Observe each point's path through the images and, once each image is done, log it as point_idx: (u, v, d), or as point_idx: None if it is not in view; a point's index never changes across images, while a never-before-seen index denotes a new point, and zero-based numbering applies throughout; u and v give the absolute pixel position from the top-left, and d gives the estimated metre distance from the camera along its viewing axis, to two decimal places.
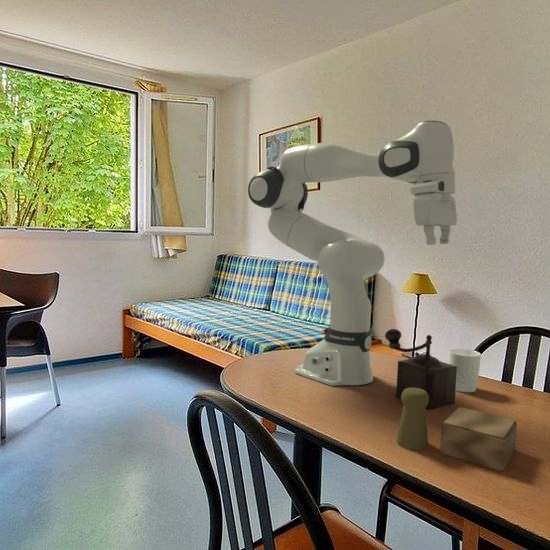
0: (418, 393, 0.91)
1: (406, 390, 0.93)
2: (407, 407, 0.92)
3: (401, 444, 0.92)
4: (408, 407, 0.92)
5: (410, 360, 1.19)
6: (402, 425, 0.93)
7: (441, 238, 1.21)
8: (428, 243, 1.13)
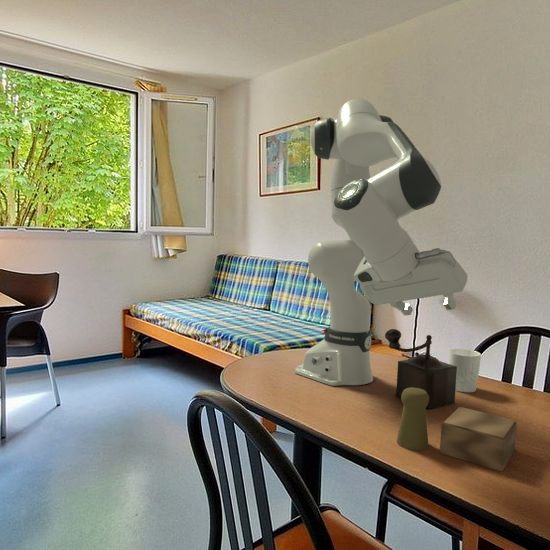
0: (418, 393, 0.91)
1: (406, 390, 0.93)
2: (407, 407, 0.92)
3: (401, 444, 0.92)
4: (408, 407, 0.92)
5: (410, 360, 1.19)
6: (402, 425, 0.93)
7: None
8: None
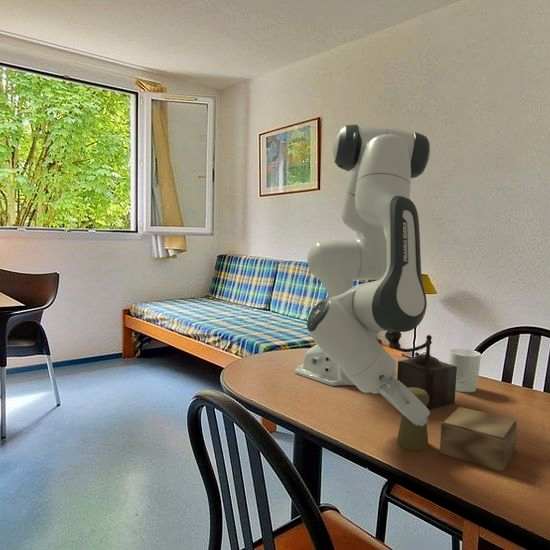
0: (418, 393, 0.91)
1: None
2: None
3: (401, 444, 0.92)
4: None
5: (410, 360, 1.19)
6: (402, 424, 0.93)
7: None
8: None
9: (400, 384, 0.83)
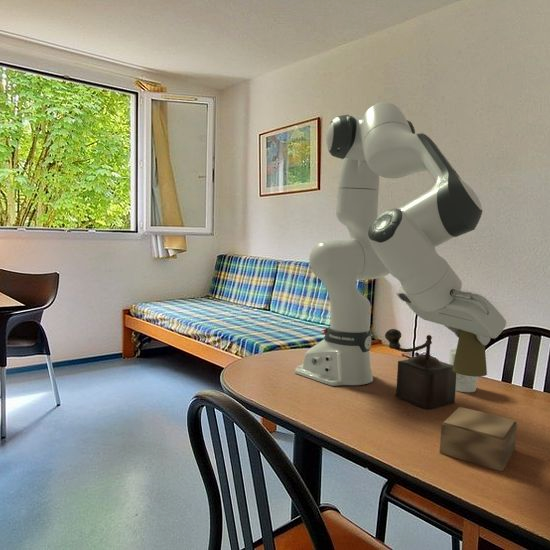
0: None
1: None
2: (466, 332, 0.87)
3: (461, 372, 0.88)
4: (468, 332, 0.87)
5: (410, 360, 1.19)
6: (460, 352, 0.88)
7: None
8: None
9: (477, 295, 0.78)
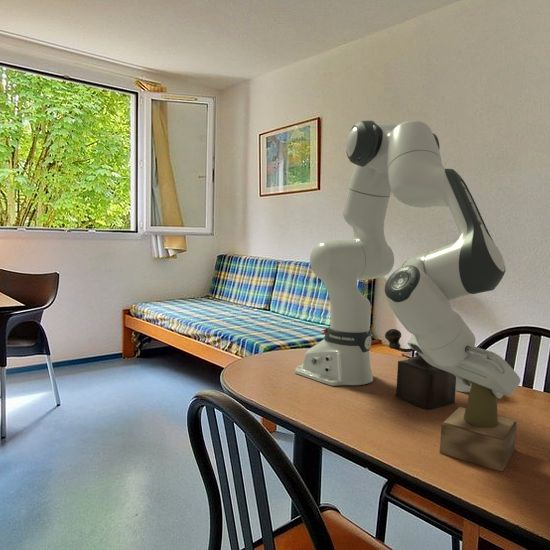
0: None
1: None
2: None
3: (473, 422, 0.89)
4: None
5: (410, 360, 1.19)
6: (473, 402, 0.89)
7: None
8: None
9: (492, 353, 0.79)
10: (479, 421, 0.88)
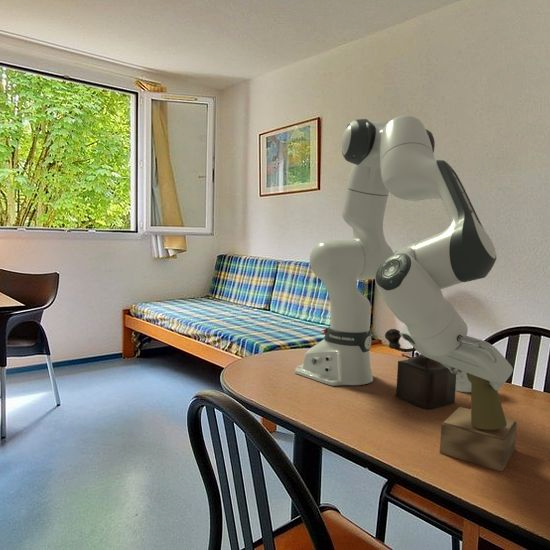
0: None
1: None
2: (478, 384, 0.86)
3: (480, 426, 0.86)
4: (479, 385, 0.86)
5: (410, 360, 1.19)
6: (476, 405, 0.87)
7: None
8: None
9: (484, 342, 0.78)
10: (486, 424, 0.85)
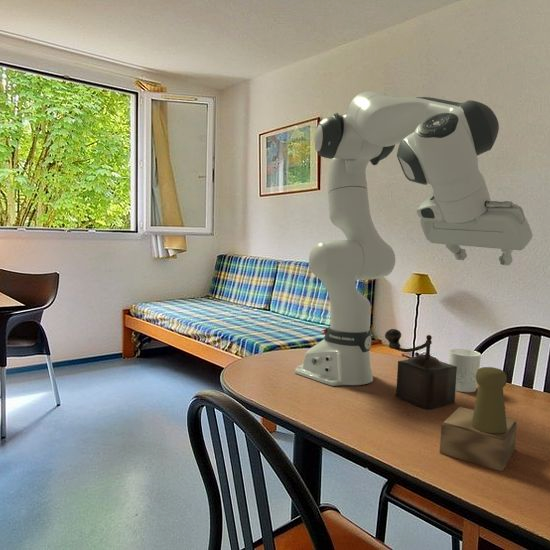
0: (498, 372, 0.85)
1: (483, 370, 0.86)
2: (486, 388, 0.86)
3: (482, 429, 0.86)
4: (488, 388, 0.85)
5: (410, 360, 1.19)
6: (480, 408, 0.86)
7: None
8: None
9: None
10: (488, 427, 0.85)
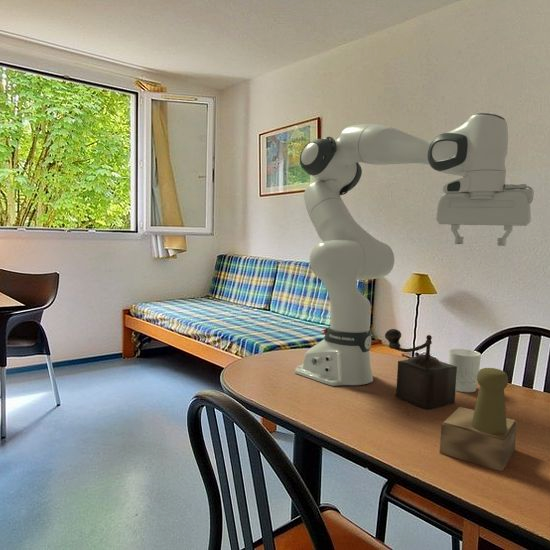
0: (499, 373, 0.85)
1: (484, 371, 0.86)
2: (488, 389, 0.85)
3: (482, 429, 0.86)
4: (489, 389, 0.85)
5: (410, 360, 1.19)
6: (481, 408, 0.86)
7: None
8: None
9: None
10: (489, 428, 0.85)
